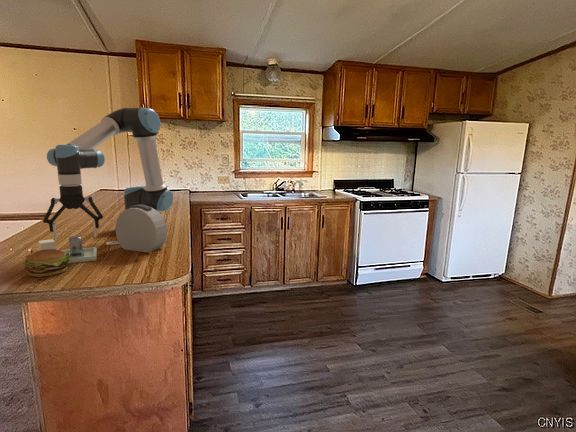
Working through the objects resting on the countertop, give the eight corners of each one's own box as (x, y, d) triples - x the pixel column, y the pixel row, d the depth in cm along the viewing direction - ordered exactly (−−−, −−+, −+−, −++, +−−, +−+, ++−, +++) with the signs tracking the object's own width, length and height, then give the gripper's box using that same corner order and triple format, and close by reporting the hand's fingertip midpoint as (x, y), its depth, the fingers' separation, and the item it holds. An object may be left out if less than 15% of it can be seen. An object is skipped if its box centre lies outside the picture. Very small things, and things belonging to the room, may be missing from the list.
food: (18, 281, 114) (16, 258, 113) (30, 268, 127) (27, 247, 126) (67, 276, 120) (65, 254, 118) (73, 264, 133) (72, 244, 131)
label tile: (120, 241, 165) (120, 240, 165) (121, 243, 162) (121, 242, 162) (106, 242, 163) (106, 242, 163) (106, 244, 159) (106, 244, 159)
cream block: (53, 250, 149) (52, 239, 148) (56, 253, 145) (55, 241, 144) (39, 252, 146) (38, 241, 145) (41, 255, 142) (40, 243, 141)
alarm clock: (167, 249, 156) (166, 205, 152) (157, 253, 149) (155, 208, 145) (128, 244, 162) (125, 202, 158) (116, 248, 155) (113, 204, 151)
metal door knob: (84, 253, 143) (83, 234, 142) (84, 257, 139) (82, 237, 137) (69, 255, 141) (68, 236, 139) (68, 258, 136) (66, 239, 135)
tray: (96, 251, 150) (96, 247, 149) (96, 260, 137) (96, 256, 137) (57, 254, 143) (57, 250, 143) (54, 264, 131) (53, 260, 131)
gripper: (106, 183, 144) (110, 232, 148) (32, 185, 132) (39, 238, 137) (106, 185, 137) (111, 236, 142) (29, 187, 126) (36, 243, 130)
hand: (76, 237), depth 139 cm, fingers open, 13 cm apart
